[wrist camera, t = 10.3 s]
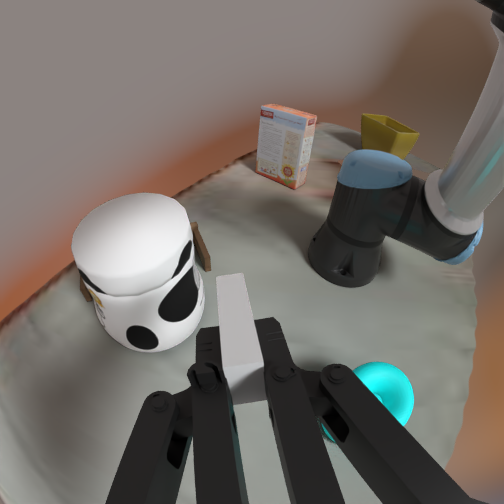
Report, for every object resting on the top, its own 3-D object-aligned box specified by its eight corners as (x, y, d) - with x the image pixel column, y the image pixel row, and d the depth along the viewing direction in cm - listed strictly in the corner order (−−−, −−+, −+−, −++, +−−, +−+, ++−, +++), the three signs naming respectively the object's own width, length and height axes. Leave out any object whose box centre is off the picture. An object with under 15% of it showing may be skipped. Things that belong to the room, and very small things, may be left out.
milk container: (89, 314, 40) (45, 235, 28) (158, 259, 51) (142, 176, 38) (153, 382, 34) (108, 314, 21) (228, 307, 44) (229, 219, 32)
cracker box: (305, 183, 76) (318, 115, 62) (294, 190, 73) (306, 117, 58) (266, 166, 82) (274, 102, 68) (254, 172, 79) (260, 104, 64)
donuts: (334, 365, 28) (404, 350, 29) (312, 392, 35) (371, 379, 36) (354, 447, 21) (427, 420, 22) (324, 455, 27) (387, 436, 29)
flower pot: (409, 167, 99) (420, 133, 87) (387, 171, 91) (399, 132, 79) (377, 148, 110) (385, 115, 98) (352, 150, 102) (360, 113, 91)
